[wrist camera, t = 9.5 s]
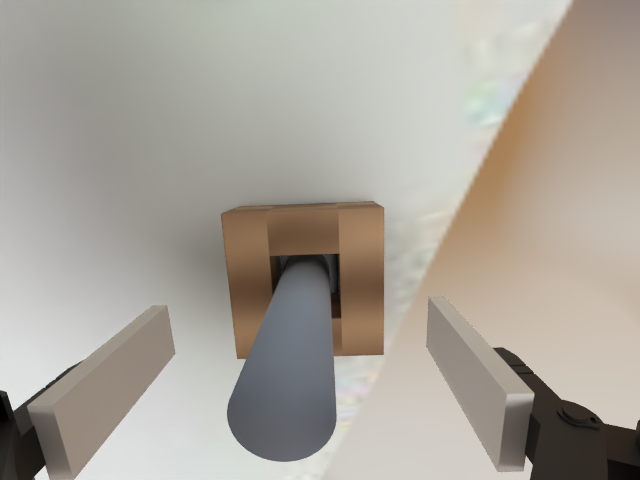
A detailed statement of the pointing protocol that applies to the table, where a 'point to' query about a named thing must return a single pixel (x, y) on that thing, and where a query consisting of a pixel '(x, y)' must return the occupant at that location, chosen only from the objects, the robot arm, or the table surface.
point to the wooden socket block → (304, 239)
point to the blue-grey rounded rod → (289, 369)
